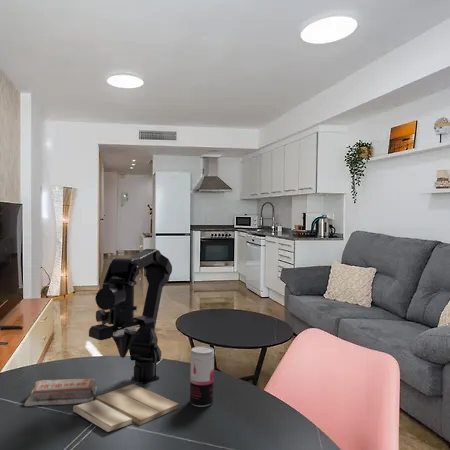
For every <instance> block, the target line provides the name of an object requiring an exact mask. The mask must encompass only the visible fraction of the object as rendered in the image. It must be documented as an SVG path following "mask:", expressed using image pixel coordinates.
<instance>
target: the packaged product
mask: <svg viewBox="0 0 450 450" xmlns="http://www.w3.org/2000/svg"><path fill="white" fill-rule="evenodd" d="M96 392H97V385H96V378H90V377H89V378H67V379H66V378H65V379H64V378H63V379H62V378H61V379H43V380H38V381H37V380H36V381H35V384H34V386H33V389H32V390H31V392H30V394H29V396H28V397H27V398H26V400H25V402H24V403H23V404H24V407H33V406H34V407H35V406H56V405H73V404H76V405H77V404H84V403H87V402H91V401H94V398H95V397H96V396H95V395H96Z"/></svg>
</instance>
